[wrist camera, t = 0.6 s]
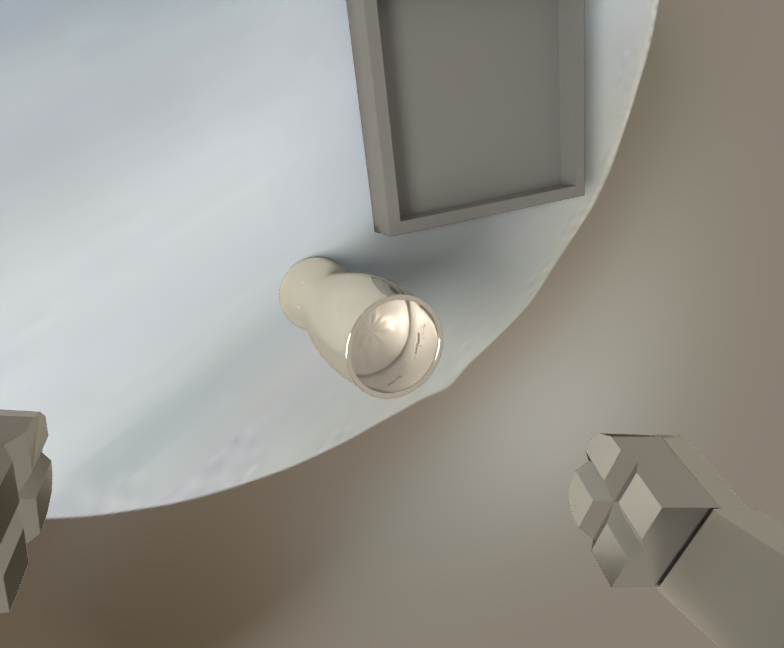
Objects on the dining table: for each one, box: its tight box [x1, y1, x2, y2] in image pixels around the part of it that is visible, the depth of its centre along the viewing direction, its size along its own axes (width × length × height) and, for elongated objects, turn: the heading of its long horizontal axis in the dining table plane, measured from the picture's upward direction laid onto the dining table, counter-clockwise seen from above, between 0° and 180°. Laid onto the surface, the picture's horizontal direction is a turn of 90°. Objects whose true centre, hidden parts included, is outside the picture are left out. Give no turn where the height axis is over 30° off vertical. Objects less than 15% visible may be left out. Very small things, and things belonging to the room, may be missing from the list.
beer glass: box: [279, 257, 443, 399], centre depth 42 cm, size 7×7×15 cm
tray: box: [346, 0, 585, 236], centre depth 48 cm, size 18×20×3 cm
